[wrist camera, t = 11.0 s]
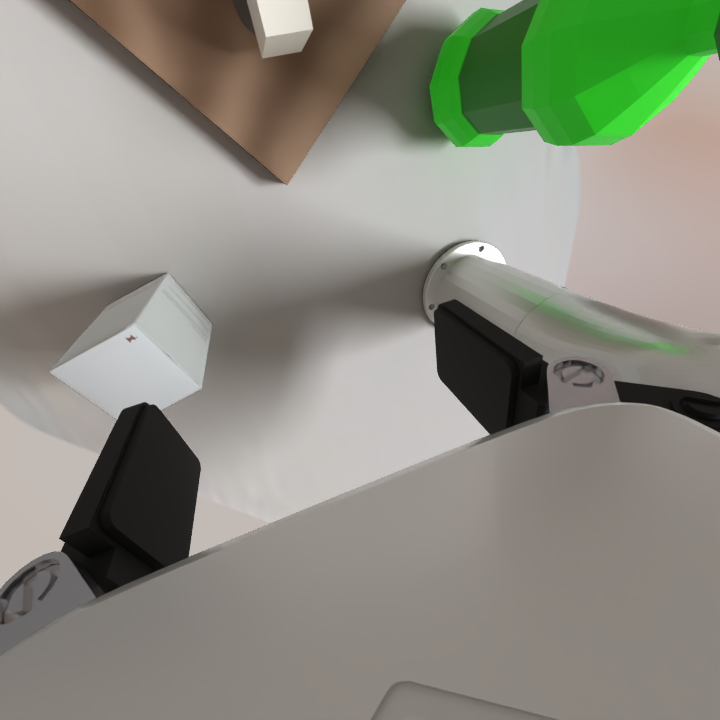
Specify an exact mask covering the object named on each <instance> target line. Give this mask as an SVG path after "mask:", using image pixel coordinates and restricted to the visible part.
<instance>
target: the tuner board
mask: <svg viewBox="0 0 720 720" xmlns="http://www.w3.org/2000/svg"><path fill="white" fill-rule="evenodd" d="M70 1H71V2H72V3H73V4H74V5H75V6H77V7H78V8H79V9H80V10H81V11H82V12H84V13H85V14H86V15H87V16H88V17H90V18H91V19H92V20H93V21H94V22H95V23H97V24H98V25H99V26H100V27H101V28H102V29H104V30H105V31H106V32H107V33H108V34H109V35H111V36H112V37H113V38H114V39H115V40H116V41H118V42H119V43H120V44H121V45H122V46H124V47H125V48H126V49H127V50H128V51H129V52H131V53H132V54H133V55H134V56H135V57H136V58H138V59H139V60H140V61H141V62H142V63H143V64H145V65H146V66H147V67H148V68H149V69H150V70H152V71H153V72H154V73H155V74H156V75H158V76H159V77H160V78H161V79H162V80H163V81H165V82H166V83H167V84H168V85H169V86H170V87H172V88H173V89H174V90H175V91H176V92H177V93H179V94H180V95H181V96H182V97H183V98H184V99H186V100H187V101H188V102H189V103H190V104H192V105H193V106H194V107H195V108H196V109H197V110H199V111H200V112H201V113H202V114H203V115H204V116H206V117H207V118H208V119H209V120H210V121H211V122H213V123H214V124H215V125H216V126H217V127H218V128H220V129H221V130H222V131H223V132H224V133H226V134H227V135H228V136H229V137H230V138H231V139H233V140H234V141H235V142H236V143H237V144H238V145H240V146H241V147H242V148H243V149H244V150H245V151H247V152H248V153H249V154H250V155H251V156H252V157H254V158H255V159H256V160H257V161H258V162H260V163H261V164H262V165H263V166H264V167H265V168H267V169H268V170H269V171H270V172H271V173H272V174H274V175H275V176H276V177H277V178H278V179H279V180H281V181H282V182H283V183H284V184H286V185H288V183H289V182H290V180H291V178H292V177H293V175H294V174H295V172H296V171H297V169H298V168H299V166H300V164H301V163H302V161H303V160H304V158H305V157H306V155H307V154H308V152H309V150H310V149H311V147H312V146H313V144H314V143H315V141H316V140H317V138H318V136H319V135H320V133H321V132H322V130H323V129H324V127H325V125H326V124H327V122H328V121H329V119H330V118H331V116H332V115H333V113H334V111H335V110H336V108H337V107H338V105H339V104H340V102H341V101H342V99H343V97H344V96H345V94H346V93H347V91H348V90H349V88H350V87H351V85H352V83H353V82H354V80H355V79H356V77H357V76H358V74H359V72H360V71H361V69H362V68H363V66H364V65H365V63H366V62H367V60H368V58H369V57H370V55H371V54H372V52H373V51H374V49H375V48H376V46H377V44H378V43H379V41H380V40H381V38H382V37H383V35H384V34H385V32H386V30H387V29H388V27H389V26H390V24H391V23H392V21H393V19H394V18H395V16H396V15H397V13H398V12H399V10H400V9H401V7H402V5H403V4H404V2H405V1H406V0H308V4H309V10H310V15H311V20H312V26H313V30H312V32H311V34H310V36H309V38H308V40H307V42H306V44H305V46H304V47H303V49H302V51H301V52H296V53H291V54H285V55H280V56H274V57H268V58H263V59H262V56H261V53H260V49H259V45H258V41H257V38H256V34H255V30H254V26H253V22H252V19H251V15H250V11H249V7H248V4H247V0H70Z"/></svg>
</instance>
